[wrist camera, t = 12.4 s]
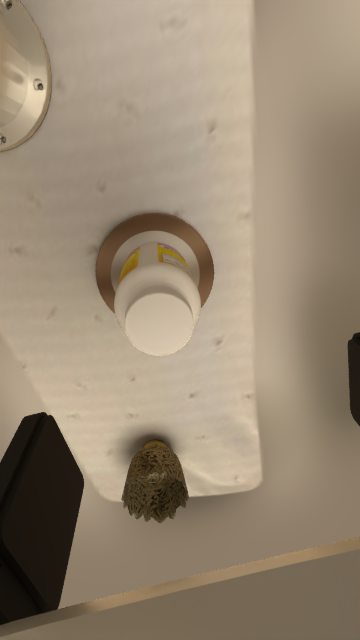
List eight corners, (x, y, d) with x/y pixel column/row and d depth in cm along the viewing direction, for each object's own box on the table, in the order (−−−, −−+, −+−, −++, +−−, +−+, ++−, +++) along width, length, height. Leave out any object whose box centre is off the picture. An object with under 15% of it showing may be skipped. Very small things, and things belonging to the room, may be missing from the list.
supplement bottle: (128, 308, 36) (118, 375, 24) (116, 245, 33) (97, 285, 21) (192, 299, 36) (212, 361, 24) (184, 236, 33) (203, 271, 21)
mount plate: (79, 233, 34) (76, 236, 33) (194, 197, 33) (196, 198, 32) (121, 336, 39) (120, 343, 37) (223, 306, 38) (226, 311, 37)
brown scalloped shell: (152, 416, 43) (152, 465, 36) (194, 444, 46) (201, 495, 38) (115, 451, 45) (108, 504, 38) (157, 477, 48) (158, 532, 40)
